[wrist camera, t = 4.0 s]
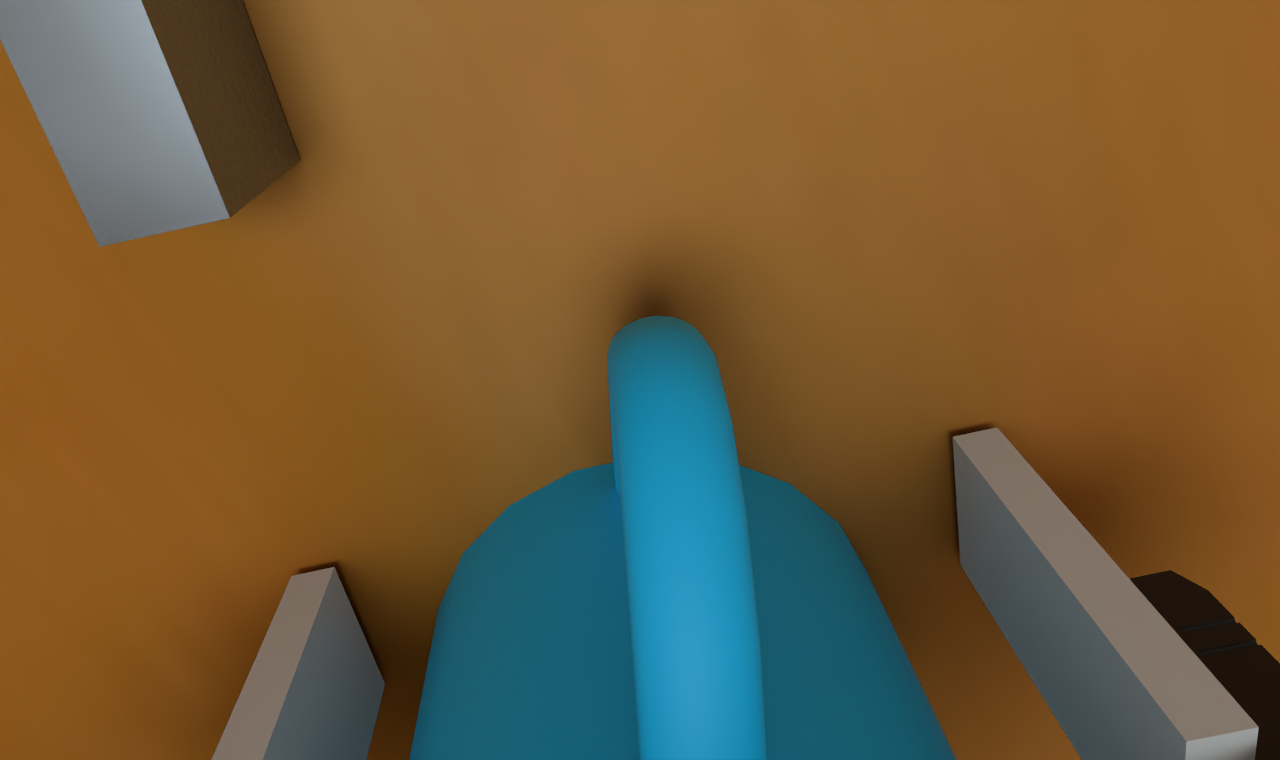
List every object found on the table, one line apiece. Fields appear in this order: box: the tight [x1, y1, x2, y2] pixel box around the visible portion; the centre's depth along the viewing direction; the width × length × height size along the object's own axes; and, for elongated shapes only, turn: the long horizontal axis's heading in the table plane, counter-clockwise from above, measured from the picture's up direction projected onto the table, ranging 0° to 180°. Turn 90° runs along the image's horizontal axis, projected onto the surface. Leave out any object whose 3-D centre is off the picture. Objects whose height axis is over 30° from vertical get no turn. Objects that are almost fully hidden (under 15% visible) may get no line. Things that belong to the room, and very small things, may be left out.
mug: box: [409, 316, 956, 760], centre depth 13 cm, size 12×8×8 cm
